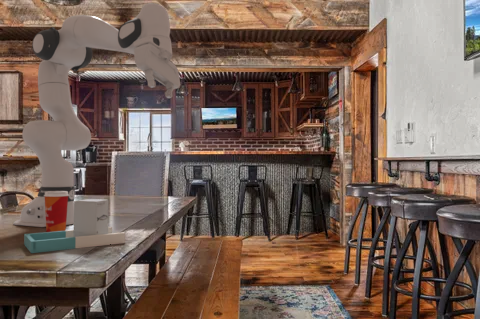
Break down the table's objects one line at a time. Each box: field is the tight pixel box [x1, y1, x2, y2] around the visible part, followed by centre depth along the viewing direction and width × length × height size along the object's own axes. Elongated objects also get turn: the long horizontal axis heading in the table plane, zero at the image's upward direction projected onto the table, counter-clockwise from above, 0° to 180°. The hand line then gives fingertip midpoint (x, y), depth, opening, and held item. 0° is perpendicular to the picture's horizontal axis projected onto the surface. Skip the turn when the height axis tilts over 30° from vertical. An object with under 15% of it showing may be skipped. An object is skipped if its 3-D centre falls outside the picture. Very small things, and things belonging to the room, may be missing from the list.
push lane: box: [23, 226, 126, 254], centre depth 119 cm, size 25×13×3 cm, turn 125°
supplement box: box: [73, 198, 109, 237], centre depth 121 cm, size 7×7×13 cm
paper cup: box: [44, 191, 69, 232], centre depth 133 cm, size 8×8×14 cm
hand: (160, 92), depth 124 cm, fingers open, 8 cm apart
